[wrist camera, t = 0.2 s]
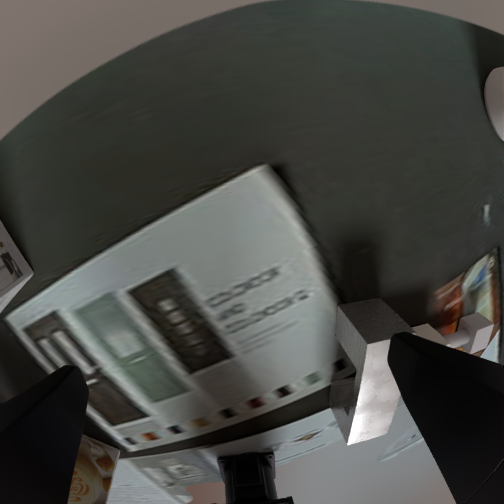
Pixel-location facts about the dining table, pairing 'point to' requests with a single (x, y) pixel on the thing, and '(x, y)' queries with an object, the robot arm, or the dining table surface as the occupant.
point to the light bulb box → (11, 268)
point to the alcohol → (495, 100)
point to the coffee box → (93, 472)
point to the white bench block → (366, 370)
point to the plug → (462, 333)
